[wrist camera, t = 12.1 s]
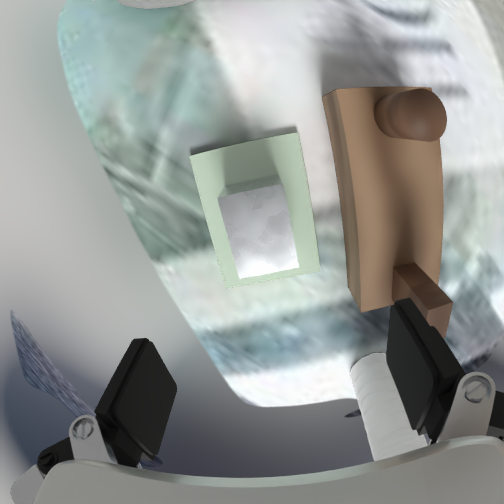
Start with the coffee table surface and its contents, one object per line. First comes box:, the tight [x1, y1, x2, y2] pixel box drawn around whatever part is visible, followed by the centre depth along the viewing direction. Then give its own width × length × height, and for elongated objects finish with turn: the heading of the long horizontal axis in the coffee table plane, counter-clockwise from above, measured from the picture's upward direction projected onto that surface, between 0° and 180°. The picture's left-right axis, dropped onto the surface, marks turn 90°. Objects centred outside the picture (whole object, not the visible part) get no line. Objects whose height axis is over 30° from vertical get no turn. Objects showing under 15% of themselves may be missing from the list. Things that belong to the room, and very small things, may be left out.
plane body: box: [322, 87, 453, 338], centre depth 20 cm, size 9×20×12 cm, turn 12°
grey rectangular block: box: [217, 174, 299, 279], centre depth 24 cm, size 5×7×5 cm
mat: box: [189, 132, 320, 288], centre depth 27 cm, size 10×14×1 cm
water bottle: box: [350, 353, 428, 461], centre depth 24 cm, size 9×6×25 cm
